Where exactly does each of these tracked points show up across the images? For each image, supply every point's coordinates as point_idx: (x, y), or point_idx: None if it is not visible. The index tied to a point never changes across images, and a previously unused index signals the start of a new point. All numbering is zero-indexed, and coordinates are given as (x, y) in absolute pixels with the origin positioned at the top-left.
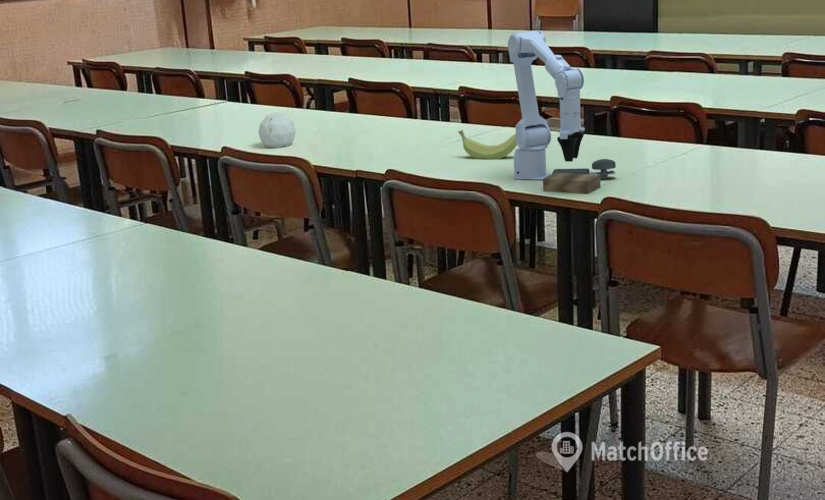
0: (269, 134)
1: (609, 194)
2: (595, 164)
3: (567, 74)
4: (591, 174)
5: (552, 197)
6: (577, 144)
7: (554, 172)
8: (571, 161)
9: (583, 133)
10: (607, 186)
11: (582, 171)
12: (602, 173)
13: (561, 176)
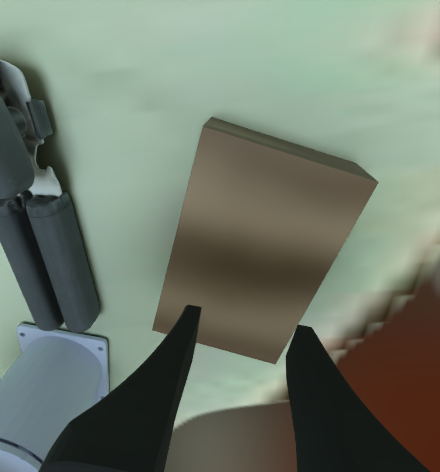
0: None
1: (393, 45)
2: (13, 178)
3: None
4: (37, 183)
5: (391, 294)
6: (177, 386)
7: (85, 326)
8: (312, 330)
9: (98, 466)
10: (191, 80)
11: (50, 228)
12: (26, 128)
13: (234, 307)
